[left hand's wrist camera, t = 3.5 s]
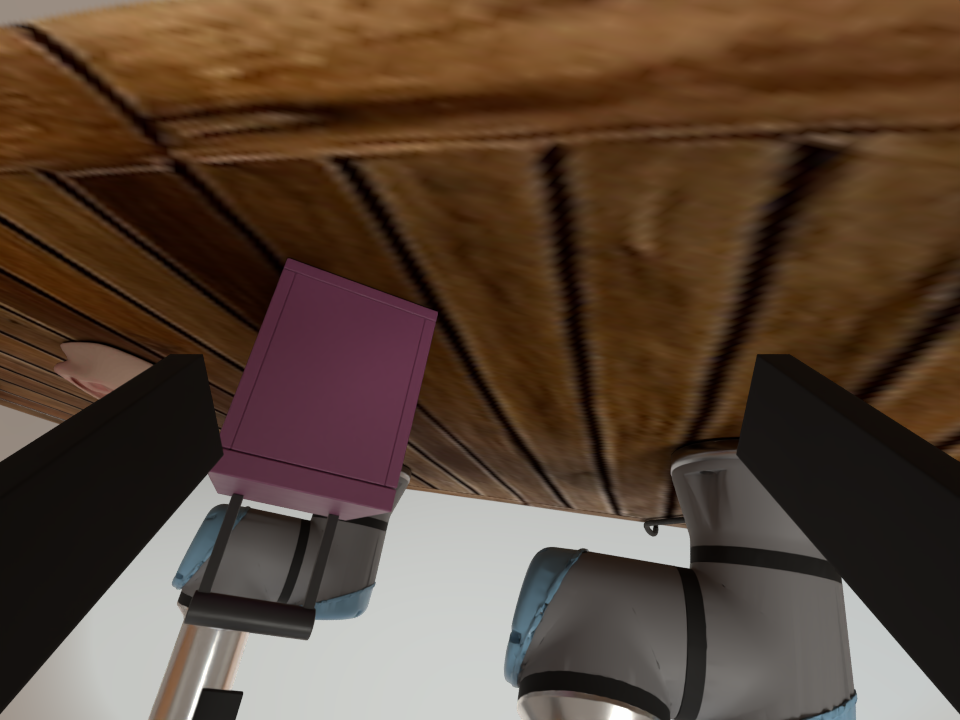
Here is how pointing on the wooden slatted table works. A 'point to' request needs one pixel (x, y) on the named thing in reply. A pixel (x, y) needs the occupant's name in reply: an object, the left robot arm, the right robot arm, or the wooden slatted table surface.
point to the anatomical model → (98, 367)
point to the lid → (286, 490)
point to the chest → (332, 378)
